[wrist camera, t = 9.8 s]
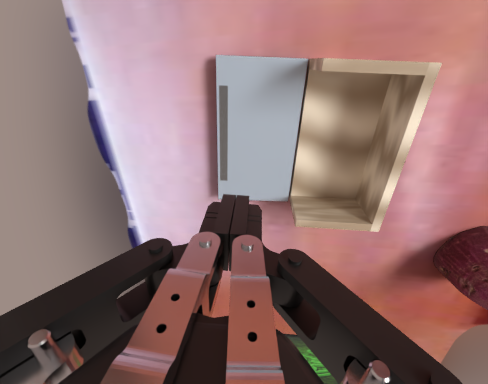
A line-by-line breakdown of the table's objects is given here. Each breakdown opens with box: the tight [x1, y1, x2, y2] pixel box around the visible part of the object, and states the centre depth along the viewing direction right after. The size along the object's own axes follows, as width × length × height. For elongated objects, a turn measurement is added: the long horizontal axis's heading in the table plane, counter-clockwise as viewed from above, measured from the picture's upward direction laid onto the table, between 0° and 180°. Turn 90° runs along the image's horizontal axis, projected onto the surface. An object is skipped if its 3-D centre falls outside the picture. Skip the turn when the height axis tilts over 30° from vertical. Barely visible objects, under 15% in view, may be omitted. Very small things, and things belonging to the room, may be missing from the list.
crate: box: [289, 58, 442, 232], centre depth 28 cm, size 18×10×7 cm, turn 178°
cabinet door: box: [216, 55, 308, 201], centre depth 31 cm, size 18×1×10 cm
